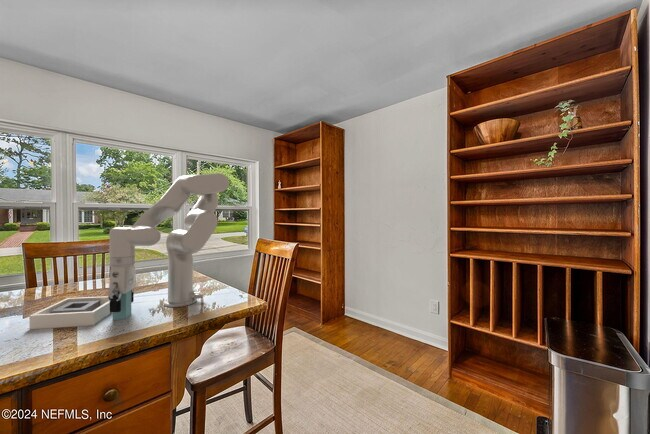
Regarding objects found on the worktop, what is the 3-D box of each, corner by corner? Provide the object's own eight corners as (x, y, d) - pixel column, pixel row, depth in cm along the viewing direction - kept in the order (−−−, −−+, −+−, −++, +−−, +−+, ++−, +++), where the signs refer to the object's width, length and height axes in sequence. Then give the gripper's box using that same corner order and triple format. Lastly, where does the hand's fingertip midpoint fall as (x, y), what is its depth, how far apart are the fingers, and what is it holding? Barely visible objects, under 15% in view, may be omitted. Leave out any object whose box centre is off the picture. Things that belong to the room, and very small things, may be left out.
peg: (131, 314, 103) (131, 288, 103) (125, 319, 99) (126, 291, 99) (118, 315, 102) (118, 289, 102) (112, 319, 98) (112, 292, 98)
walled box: (120, 306, 111) (120, 295, 111) (93, 325, 93) (93, 312, 93) (67, 309, 107) (67, 298, 107) (29, 329, 89) (29, 315, 89)
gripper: (122, 265, 92) (122, 315, 93) (143, 256, 109) (143, 298, 110) (96, 266, 91) (96, 316, 91) (122, 257, 107) (122, 299, 108)
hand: (122, 307), depth 100 cm, fingers open, 9 cm apart
